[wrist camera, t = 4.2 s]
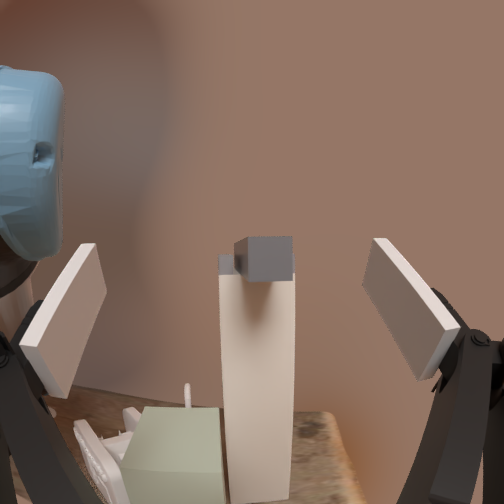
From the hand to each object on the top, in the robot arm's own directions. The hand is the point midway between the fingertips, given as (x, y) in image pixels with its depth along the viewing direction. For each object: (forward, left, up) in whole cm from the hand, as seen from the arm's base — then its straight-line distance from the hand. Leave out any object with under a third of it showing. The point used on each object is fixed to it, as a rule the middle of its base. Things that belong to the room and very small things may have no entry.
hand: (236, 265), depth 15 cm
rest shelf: (-5, +8, -34) cm, 35 cm away
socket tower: (+3, +26, -34) cm, 42 cm away
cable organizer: (-15, +21, -34) cm, 42 cm away
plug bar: (+3, +20, -2) cm, 20 cm away
